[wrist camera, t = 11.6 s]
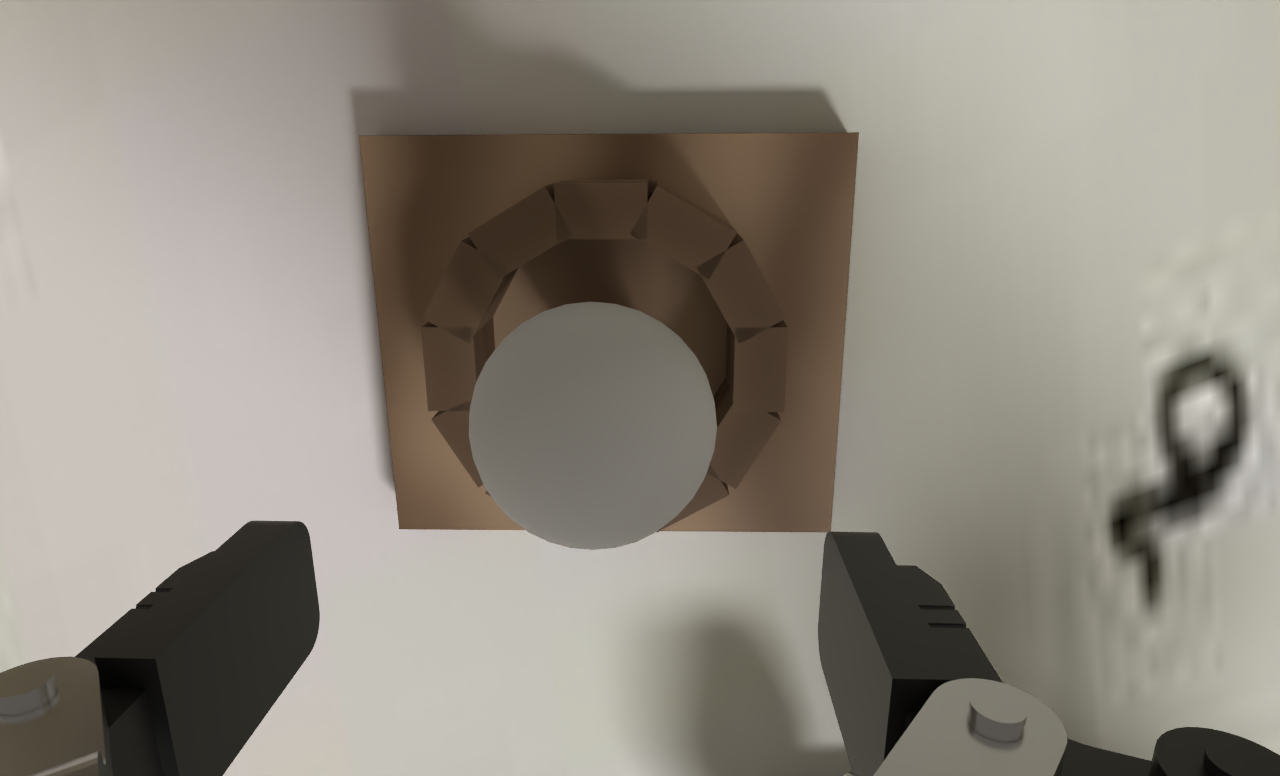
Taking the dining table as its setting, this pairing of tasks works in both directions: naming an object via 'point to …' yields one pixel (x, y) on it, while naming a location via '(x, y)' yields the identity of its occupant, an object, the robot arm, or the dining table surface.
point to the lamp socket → (619, 295)
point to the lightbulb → (592, 425)
